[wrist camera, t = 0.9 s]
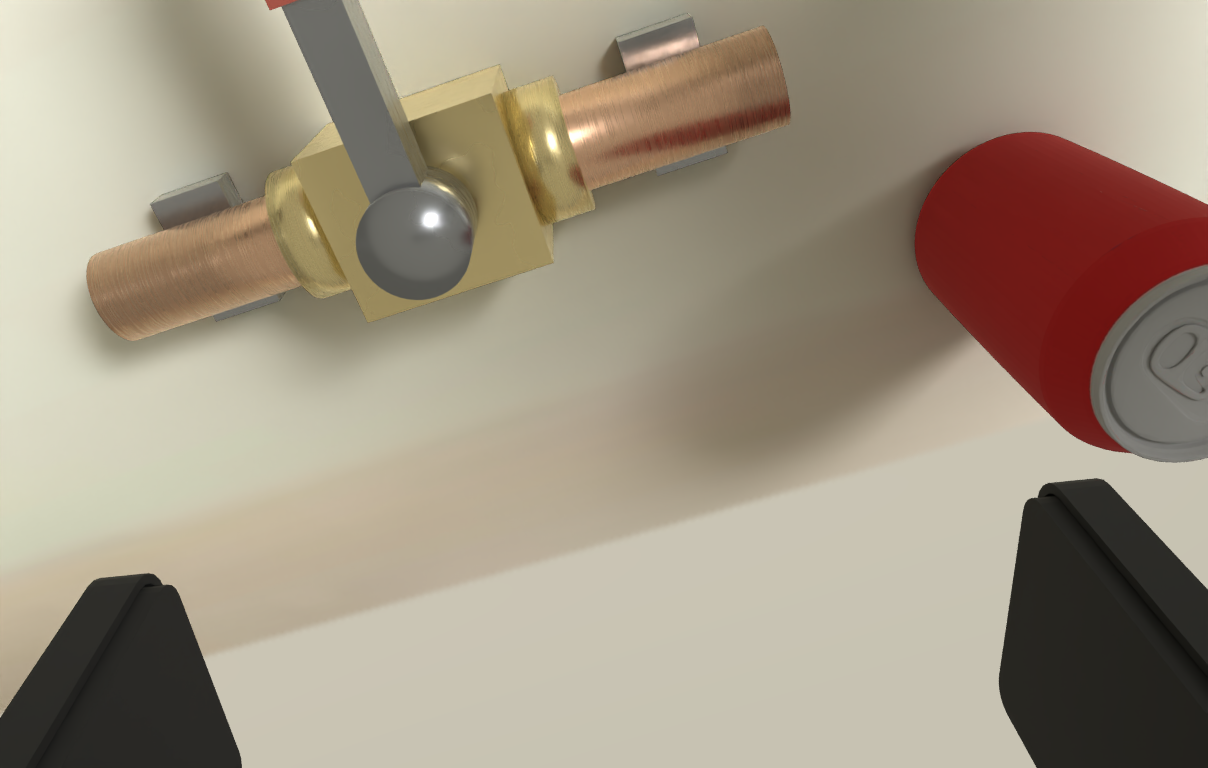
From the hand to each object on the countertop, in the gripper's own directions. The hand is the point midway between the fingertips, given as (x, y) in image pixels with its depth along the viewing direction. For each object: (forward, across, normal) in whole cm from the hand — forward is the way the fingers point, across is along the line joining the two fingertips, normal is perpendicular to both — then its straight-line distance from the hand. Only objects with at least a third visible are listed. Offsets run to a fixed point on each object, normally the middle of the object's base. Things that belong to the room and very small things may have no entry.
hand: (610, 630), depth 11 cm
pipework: (+24, +4, +1) cm, 24 cm away
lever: (+18, +5, -4) cm, 20 cm away
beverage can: (+24, -15, +4) cm, 29 cm away
